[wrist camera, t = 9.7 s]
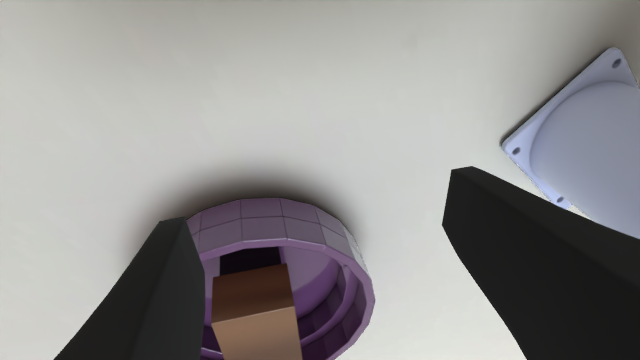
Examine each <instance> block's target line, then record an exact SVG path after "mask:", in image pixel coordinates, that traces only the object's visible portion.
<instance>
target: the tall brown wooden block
mask: <svg viewBox="0 0 640 360" xmlns="http://www.w3.org/2000/svg"><path fill="white" fill-rule="evenodd" d="M211 325H212V328H213V331H214V333H215V336H216V338H217V341H218V344H219V346H220V349H221V352H222V354H223V357H224V360H303V359H302V352H301V345H300V338H299V331H298V325H297V318H296V311H295V304H294V299H293V293H292V288H291V282H290V277H289V271H288V265H287V263H284V264H282V262H281V256H280V249H279V246H277V247H263V248H249V249H242V250H239V251H235V252H232V253H229V254H225V255H222V256H220V270H219V276H217V277H213V282H212V307H211Z"/></svg>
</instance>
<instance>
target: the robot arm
mask: <svg viewBox="0 0 640 360" xmlns="http://www.w3.org/2000/svg"><path fill="white" fill-rule="evenodd" d="M515 148H516V149H515ZM514 149H515V150H514ZM502 150H503V151H504V152H505V153H506V154H507V155H508V156H509V157H510V158H511V159H512V160H513V161H514V163H515V164H516V165H517V166H518V167H519V168H520V169H521V170H522V171H523V172H524V173H525V174H526V175H527V176H528V177H529V179H530V180H531V181H532V182H533V183H534V184H535V185H536V186H537V187H538V188H539V189H540V190H541V191H542V192H543V193H544V195H545V196H546V197H547V198H548V199H549V200H550V201H551V202H552V203H551V202H548V201H546V200H544V199H542V198H540V197H538V196H536V195H534V194H531V193H529V192H527V191H525V190H523V189H521V188H519V187H517V186H515V185H513V184H511V183H509V182H507V181H505V180H502V179H500V178H498V177H496V176H494V175H492V174H490V173H487V172H485V171H483V170H481V169H478V168H476V167H473V166H470V167H464V168H458V169H453V170H451V176H450V182H449V188H448V193H447V199H446V205H445V210H444V216H443V222H442V226H443V228H444V230H445V232H446V234H447V236H448V238H449V240H450V242H451V244H452V246H453V248H454V250H455V252H456V253H457V255H458V257H459V258H460V260H461V261H462V263H463V264H464V266H465V267H466V269H467V270H468V271H469V273H470V274H471V276H472V277H473V279H474V280H475V282H476V283H477V284H478V286H479V287H480V289H481V290H482V291H483V293H484V294H485V296H486V297H487V299H488V300H489V301H490V303H491V304H492V306H493V307H494V309H495V310H496V311H497V313H498V314H499V316H500V317H501V318H502V320H503V321H504V323H505V324H506V326H507V327H508V329H509V330H510V332H511V333H512V335H513V337H514V338H515V340H516V342H517V343H518V345H519V347H520V349H521V350H522V352H523V354H524V356H525V357H526V359H527V360H640V88H639V86H638V84H637V82H636V80H635V78H634V76H633V74H632V72H631V70H630V68H629V66H628V63H627V61H626V59H625V57H624V55H623V53H622V51H621V50H620V49H618V48H614V47H612V48H609V49H608V50H606V51H605V52H604V53H603V54H602V55H600V56H599V57H598V58H597V59H596V60H595V61H594V62H593V63H591V64H590V65H589V66H588V67H587V68H586V69H585V70H584V71H582V72H581V73H580V74H579V75H578V76H577V77H576V78H575V79H573V80H572V81H571V82H570V83H569V84H568V85H567V86H566V87H564V88H563V89H562V90H561V91H560V92H559V93H558V94H557V95H555V96H554V97H553V98H552V99H551V100H550V101H549V102H548V103H547V104H545V105H544V106H543V107H542V108H541V109H540V110H539V111H538V112H536V113H535V114H534V115H533V116H532V117H531V118H530V119H529V120H527V121H526V122H525V123H524V124H523V125H522V126H521V127H520V128H518V129H517V130H516V131H515V132H514V133H513V134H512V135H511V136H509V137H508V138H507V139H506V140H505V141H504V142H503V144H502ZM513 150H514V151H513ZM571 205H574V206H575V207H576V208H578V209H579V210H580V211H581V212H583V213H584V214H585V215H586V216H588V217H589V218H590V219H591V220H589V219H587V218H584V217H582V216H580V215H577V214H575V213H573V212H570V211H568V210H566V209H567V208H569V207H570V206H571ZM592 220H593V221H592ZM204 318H205V271H204V268H203V265H202V263H201V260H200V257H199V254H198V252H197V249H196V246H195V243H194V241H193V238H192V235H191V232H190V230H189V227H188V224H187V221H186V219H185V217H181V218H175V219H169V220H164V221H160V222H159V223H158V224H157V226H156V227H155V228H154V230H153V231H152V233H151V234H150V236H149V237H148V238H147V240H146V241H145V243H144V244H143V246H142V247H141V249H140V250H139V252H138V253H137V254H136V256H135V257H134V259H133V260H132V262H131V263H130V264H129V266H128V267H127V269H126V270H125V271H124V273H123V274H122V275H121V277H120V278H119V280H118V281H117V282H116V284H115V285H114V286H113V288H112V289H111V291H110V292H109V293H108V295H107V296H106V297H105V298H104V300H103V301H102V302H101V304H100V305H99V306H98V307H97V309H96V310H95V311H94V312H93V314H92V315H91V316H90V317H89V319H88V320H87V321H86V322H85V324H84V325H83V326H82V327H81V329H80V330H79V331H78V332H77V333H76V335H75V336H74V337H73V338H72V339H71V340H70V342H69V343H68V344H67V345H66V346H65V347H64V349H63V350H62V351H61V352H60V353H59V354H58V355H57V356H56V357H55V358H54V360H200V355H201V346H202V337H203V328H204Z"/></svg>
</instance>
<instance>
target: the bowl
mask: <svg viewBox="0 0 640 360" xmlns="http://www.w3.org/2000/svg"><path fill="white" fill-rule="evenodd" d="M186 221H187V224H188V227H189V230H190V232H191V235H192V238H193V241H194V243H195V246H196V249H197V252H198V254H199V257H200V260H201V263H202V265H203V268H204V271H205V318H204V328H203V337H202V346H201V355H200V360H224V357H223V354H222V352H221V349H220V346H219V344H218V341H217V338H216V336H215V333H214V331H213V328H212V325H211V307H212V282H213V277H217V276H219V270H220V256H222V255H225V254H229V253H232V252H235V251H239V250H242V249H249V248H263V247H277V246H279V249H280V256H281V262H282V264H284V263H287V265H288V271H289V277H290V282H291V288H292V293H293V299H294V304H295V311H296V318H297V325H298V331H299V338H300V345H301V352H302V359H303V360H335V359H336V358H337V357H338V356H340V355H341V354H342V353H343V352H345V351H346V350H347V349H348V348H350V347H351V346H352V345H353V344H354V343H355V342H356V341H357V339H358V338H359V337H360V335H361V334H362V333H363V331H364V330H365V329H366V327H367V326H368V325H369V322H370V319H371V315H372V312H373V308H374V305H375V296H374V291H373V286H372V281H371V278H370V275H369V273H368V270H367V268H366V266H365V263H364V261H363V258H362V256H361V253H360V251H359V248H358V246H357V244H356V241H355V239H354V238H353V237H352V236H351V234H350V233H349V232H348V230H347V229H346V228H345V226H344V225H343V224H342V223H341V221H339V220H338V219H336V218H334V217H333V216H331V215H329V214H328V213H326V212H324V211H323V210H321V209H319V208H317V207H316V206H314V205H311V204H306V203H302V202H297V201H293V200H288V199H284V198H255V199H238V200H235V201H232V202H228V203H225V204H222V205H218V206H215V207H211V208H208V209H205V210H202V211H200V212H199V213H197V214H195V215H194V216H192V217H191V218H189V219H187V220H186Z"/></svg>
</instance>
